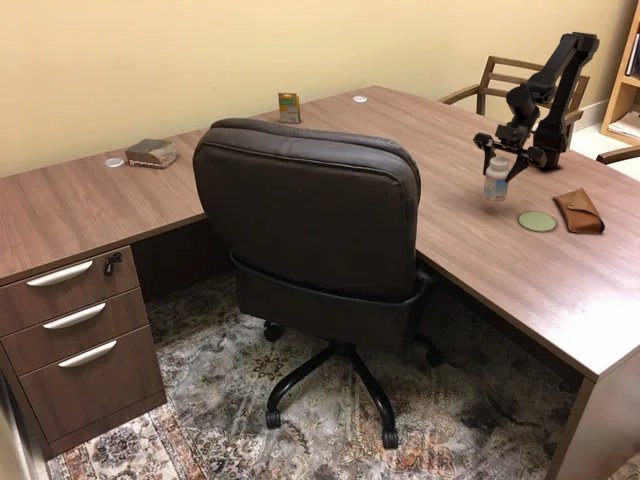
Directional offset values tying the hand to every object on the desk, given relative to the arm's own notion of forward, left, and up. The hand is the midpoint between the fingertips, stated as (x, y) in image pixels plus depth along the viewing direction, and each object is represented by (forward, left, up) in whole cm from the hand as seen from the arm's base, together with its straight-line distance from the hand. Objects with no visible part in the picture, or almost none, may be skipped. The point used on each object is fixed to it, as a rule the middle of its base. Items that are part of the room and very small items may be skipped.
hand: (494, 178), depth 139 cm
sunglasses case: (-20, +10, -10) cm, 25 cm away
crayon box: (+30, -86, -10) cm, 91 cm away
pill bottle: (-1, -1, -7) cm, 7 cm away
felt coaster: (-8, +9, -10) cm, 16 cm away
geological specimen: (+82, -73, -10) cm, 111 cm away
